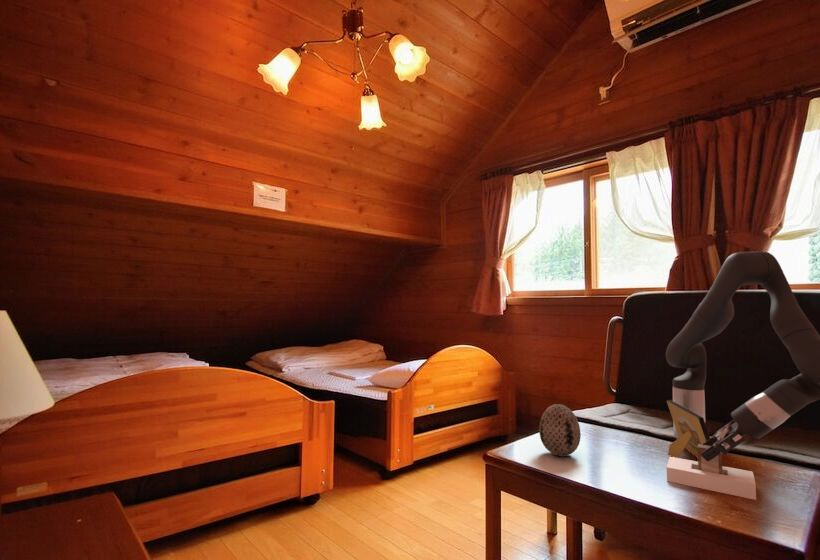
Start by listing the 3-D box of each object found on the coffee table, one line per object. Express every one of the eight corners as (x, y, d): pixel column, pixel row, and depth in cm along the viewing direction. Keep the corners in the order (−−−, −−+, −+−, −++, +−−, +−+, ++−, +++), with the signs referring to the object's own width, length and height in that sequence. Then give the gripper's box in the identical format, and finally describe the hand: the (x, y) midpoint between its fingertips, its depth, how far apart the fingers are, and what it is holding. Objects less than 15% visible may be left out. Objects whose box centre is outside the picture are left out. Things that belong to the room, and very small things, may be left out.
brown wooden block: (698, 475, 113) (698, 444, 113) (722, 480, 110) (721, 447, 111) (698, 479, 110) (697, 447, 111) (722, 483, 108) (721, 451, 108)
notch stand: (670, 469, 120) (669, 456, 120) (753, 485, 109) (752, 471, 109) (666, 481, 111) (666, 467, 112) (756, 499, 101) (755, 484, 101)
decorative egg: (552, 463, 123) (552, 409, 124) (532, 449, 134) (532, 400, 135) (589, 460, 125) (588, 408, 126) (566, 447, 137) (566, 399, 138)
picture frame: (722, 473, 117) (713, 417, 118) (685, 474, 119) (677, 418, 120) (686, 446, 140) (679, 399, 141) (656, 447, 141) (649, 400, 143)
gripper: (744, 397, 113) (692, 434, 119) (747, 407, 101) (690, 447, 107) (771, 421, 110) (717, 458, 115) (778, 435, 98) (717, 474, 104)
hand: (704, 453), depth 111 cm, fingers open, 8 cm apart
